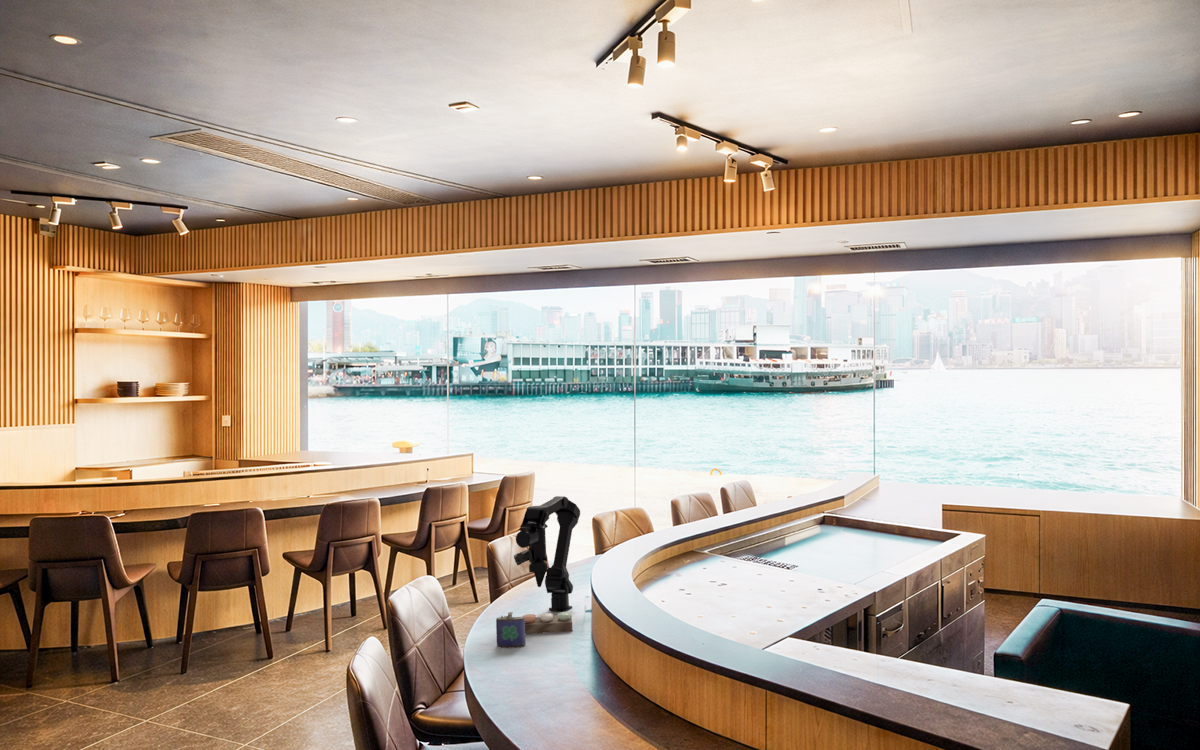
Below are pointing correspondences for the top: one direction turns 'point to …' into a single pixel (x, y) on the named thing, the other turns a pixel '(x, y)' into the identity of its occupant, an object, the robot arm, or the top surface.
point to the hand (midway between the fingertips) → (539, 586)
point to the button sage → (564, 616)
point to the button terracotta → (529, 618)
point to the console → (548, 626)
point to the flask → (510, 631)
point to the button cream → (546, 617)
